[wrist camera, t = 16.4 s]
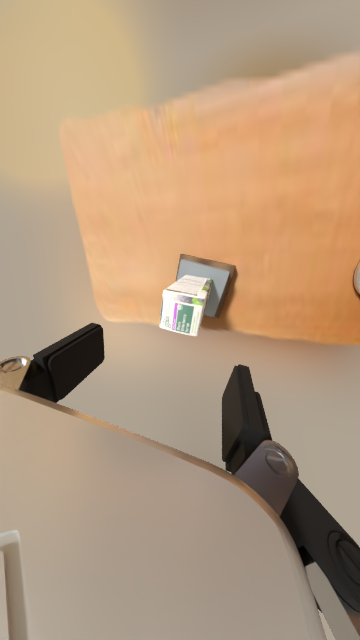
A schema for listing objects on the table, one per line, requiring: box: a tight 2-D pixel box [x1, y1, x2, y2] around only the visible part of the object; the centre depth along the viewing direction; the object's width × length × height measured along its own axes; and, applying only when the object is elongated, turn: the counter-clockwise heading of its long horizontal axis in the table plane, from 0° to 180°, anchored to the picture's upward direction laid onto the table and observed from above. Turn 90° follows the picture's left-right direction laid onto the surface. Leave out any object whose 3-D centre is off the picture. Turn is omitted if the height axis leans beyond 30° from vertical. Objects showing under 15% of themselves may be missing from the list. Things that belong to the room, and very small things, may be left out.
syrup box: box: [160, 275, 212, 336], centre depth 27 cm, size 6×6×14 cm
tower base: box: [176, 254, 236, 318], centre depth 38 cm, size 12×12×3 cm
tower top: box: [176, 259, 230, 318], centre depth 35 cm, size 10×10×3 cm
